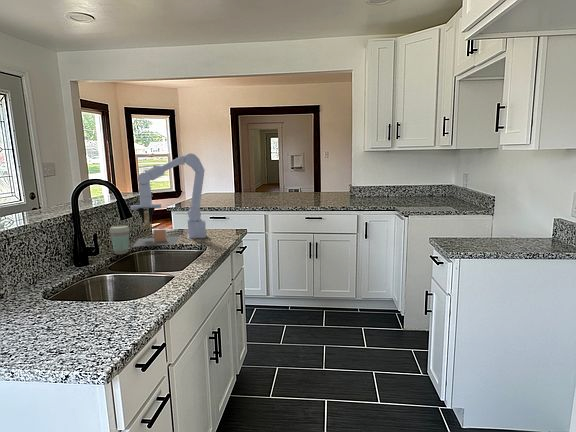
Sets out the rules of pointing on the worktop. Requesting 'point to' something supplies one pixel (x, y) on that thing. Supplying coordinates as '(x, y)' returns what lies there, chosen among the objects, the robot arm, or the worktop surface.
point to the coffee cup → (120, 238)
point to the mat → (151, 242)
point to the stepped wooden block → (147, 220)
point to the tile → (160, 235)
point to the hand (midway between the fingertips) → (147, 222)
